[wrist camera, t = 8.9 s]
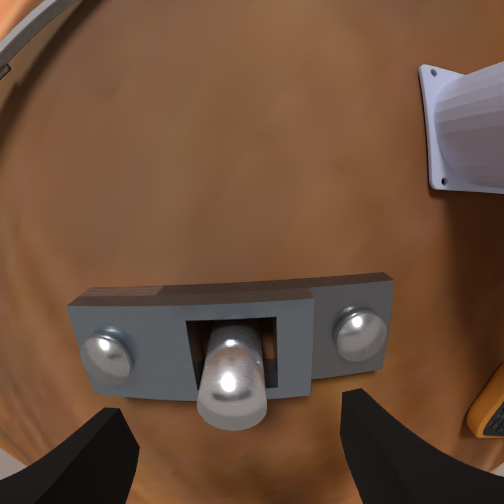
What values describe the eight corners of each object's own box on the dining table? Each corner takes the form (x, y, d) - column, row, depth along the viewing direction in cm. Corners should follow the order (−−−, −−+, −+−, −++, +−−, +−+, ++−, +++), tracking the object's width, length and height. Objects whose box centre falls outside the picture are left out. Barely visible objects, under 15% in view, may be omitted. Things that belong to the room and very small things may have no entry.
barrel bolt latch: (383, 272, 17) (413, 294, 13) (374, 356, 18) (395, 389, 15) (90, 287, 17) (59, 311, 13) (111, 368, 18) (90, 400, 15)
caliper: (-22, 146, 15) (-79, 146, 9) (-26, 138, 15) (-81, 137, 8) (165, -55, 12) (145, -108, 6) (157, -59, 12) (135, -110, 5)
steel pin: (255, 303, 17) (261, 377, 11) (263, 345, 18) (271, 425, 11) (207, 311, 17) (188, 385, 11) (218, 351, 18) (207, 433, 11)
